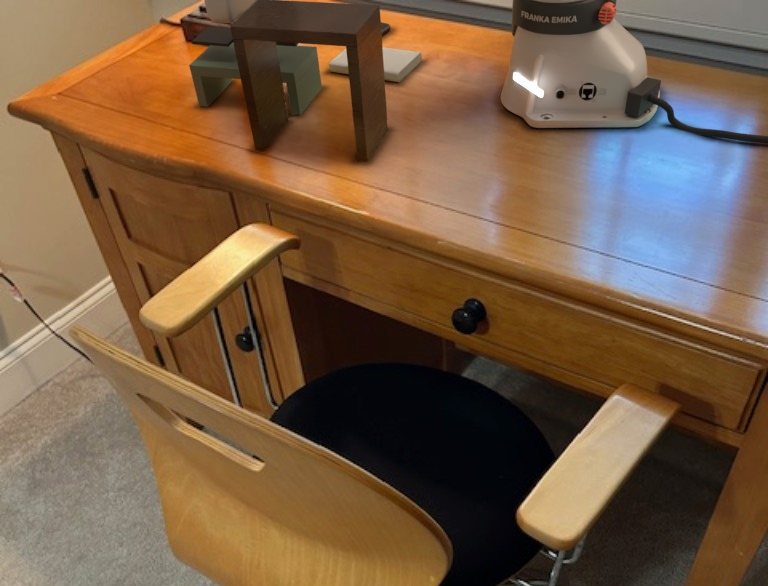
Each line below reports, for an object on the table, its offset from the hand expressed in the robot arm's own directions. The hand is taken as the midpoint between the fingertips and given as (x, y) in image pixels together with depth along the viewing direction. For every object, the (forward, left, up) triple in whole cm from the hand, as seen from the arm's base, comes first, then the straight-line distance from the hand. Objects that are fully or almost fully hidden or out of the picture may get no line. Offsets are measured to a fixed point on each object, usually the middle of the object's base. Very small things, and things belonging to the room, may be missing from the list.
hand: (257, 32), depth 115 cm
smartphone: (-3, -26, -9) cm, 28 cm away
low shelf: (+1, 0, -9) cm, 9 cm away
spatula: (+2, 0, -1) cm, 2 cm away
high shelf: (-13, +11, -9) cm, 19 cm away
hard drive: (-13, -13, -9) cm, 21 cm away
